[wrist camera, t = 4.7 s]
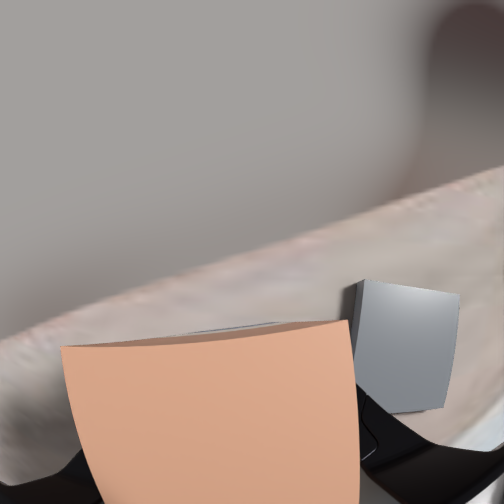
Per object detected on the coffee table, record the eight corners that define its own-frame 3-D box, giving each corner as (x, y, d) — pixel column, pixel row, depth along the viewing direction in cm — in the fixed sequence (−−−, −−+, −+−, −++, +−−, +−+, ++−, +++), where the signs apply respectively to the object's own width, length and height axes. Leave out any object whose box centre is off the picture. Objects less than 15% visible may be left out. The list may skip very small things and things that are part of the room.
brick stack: (281, 387, 14) (356, 534, 2) (213, 396, 14) (126, 542, 2) (271, 322, 15) (347, 319, 3) (203, 331, 15) (60, 346, 3)
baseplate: (433, 404, 14) (443, 407, 12) (336, 408, 14) (341, 414, 13) (449, 296, 16) (459, 294, 14) (357, 282, 16) (364, 279, 15)
